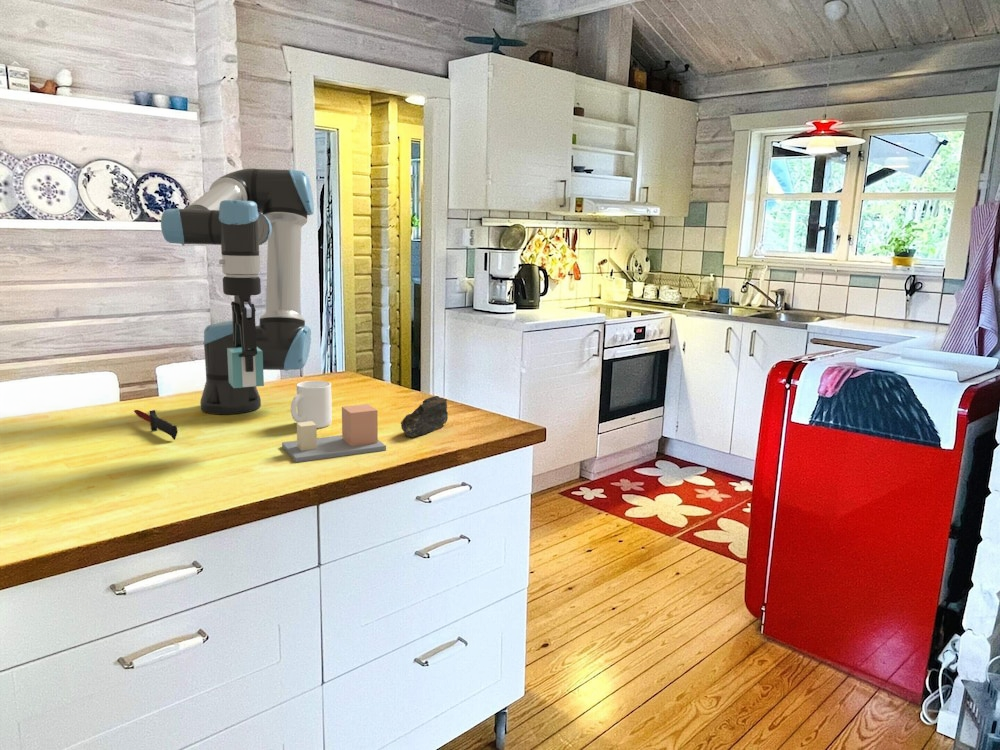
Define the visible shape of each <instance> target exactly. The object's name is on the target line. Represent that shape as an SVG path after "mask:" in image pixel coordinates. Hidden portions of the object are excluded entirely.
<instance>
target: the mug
mask: <svg viewBox="0 0 1000 750" xmlns="http://www.w3.org/2000/svg"><path fill="white" fill-rule="evenodd" d="M290 404H291V405H290V414H291V415H290V416H291V417H292V420H293V421H294V422H295V423H299V422H308V421H313V422H314V423H315V424H316V427H317V429H322V428H326V427H329V426H330V425H331V424H332V422H333V421H332V419H333V412H332V411H333V410H332V406H333V405H332V383H331V382H329V381H325V380H307V381H305V380H304V381H302V382H298V383H297V384H296V395H295V396H294V397H293V399H292V401H291V403H290Z"/></svg>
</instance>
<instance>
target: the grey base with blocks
mask: <svg viewBox="0 0 1000 750" xmlns="http://www.w3.org/2000/svg"><path fill="white" fill-rule="evenodd" d="M317 429H318V428H317V427H316V424H315V423H314V422H313V421H308V422H299V423H298V422H296V440H292V441H291V440H290V441H282V442H281V447H282V448H283V450H284V451H285V452H286V453H287V454H288V455H289V456H290V457H291V458H292V460H293V461H294V462H295V463H301V462H309V461H315V460H323V459H331V458H339V457H347V456H352V455H361V454H368V453H375V452H376V453H377V452H381V451H387V445H386V444H384V443H383V442H382V441H380V439H378V438H379V437H378V435H379V434H378V431H379V430H378V409H376V408H375V407H373V406H371V405H370V404H368V403H364V404H354V405H346V406H341V431H342V432H341V434H340V435H333V436H332V435H331V436H323V437H318V435H317V433H318V432H317Z"/></svg>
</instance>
